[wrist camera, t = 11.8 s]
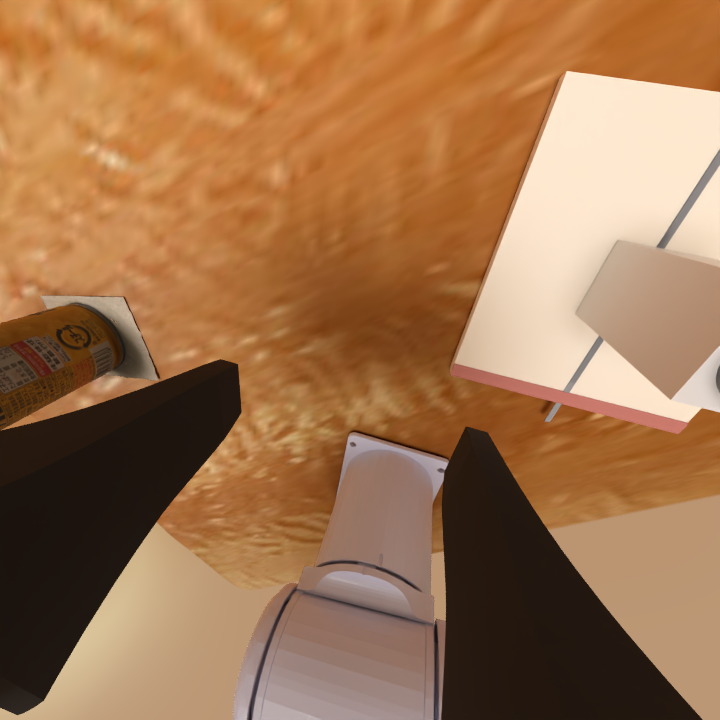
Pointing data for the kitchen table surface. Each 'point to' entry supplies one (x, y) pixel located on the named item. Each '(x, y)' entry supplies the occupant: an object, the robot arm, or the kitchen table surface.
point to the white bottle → (661, 318)
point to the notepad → (593, 240)
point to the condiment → (66, 352)
